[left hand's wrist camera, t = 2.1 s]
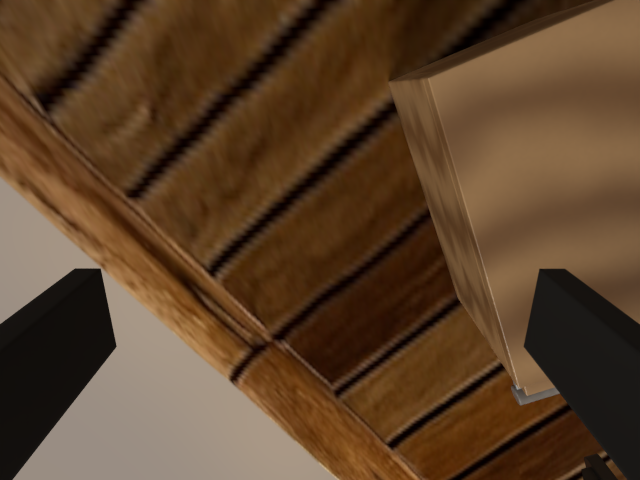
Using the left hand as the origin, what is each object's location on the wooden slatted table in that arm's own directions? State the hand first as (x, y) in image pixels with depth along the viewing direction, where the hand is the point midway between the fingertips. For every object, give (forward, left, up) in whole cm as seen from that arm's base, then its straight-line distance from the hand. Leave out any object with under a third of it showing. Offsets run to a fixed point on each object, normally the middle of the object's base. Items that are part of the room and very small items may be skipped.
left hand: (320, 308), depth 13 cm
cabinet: (-10, +10, -21) cm, 25 cm away
